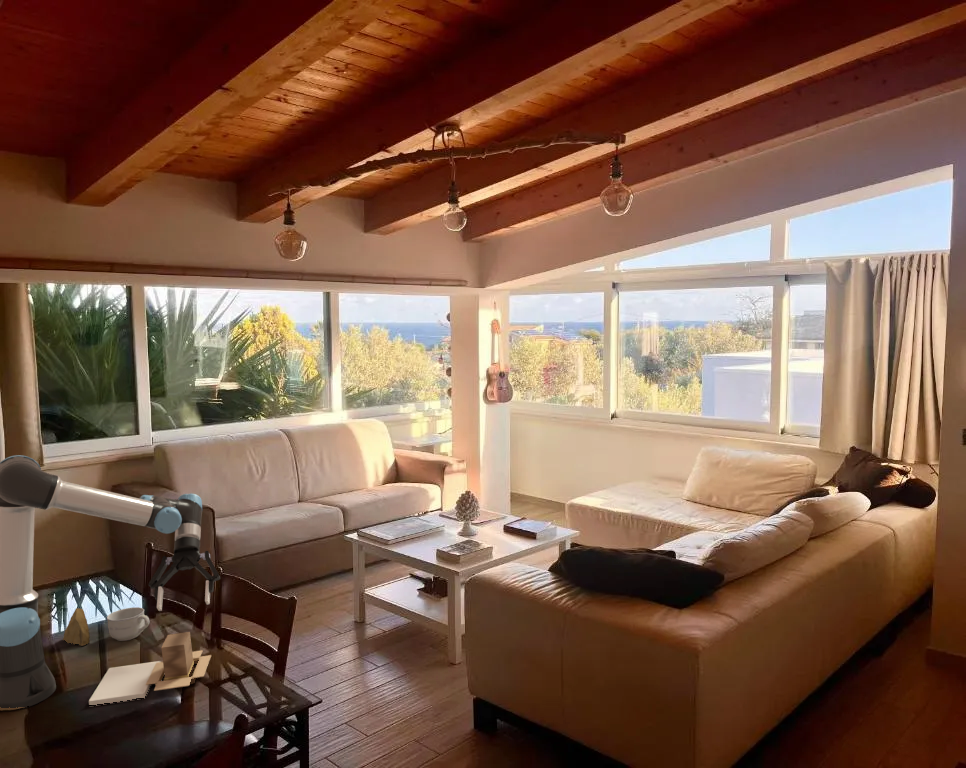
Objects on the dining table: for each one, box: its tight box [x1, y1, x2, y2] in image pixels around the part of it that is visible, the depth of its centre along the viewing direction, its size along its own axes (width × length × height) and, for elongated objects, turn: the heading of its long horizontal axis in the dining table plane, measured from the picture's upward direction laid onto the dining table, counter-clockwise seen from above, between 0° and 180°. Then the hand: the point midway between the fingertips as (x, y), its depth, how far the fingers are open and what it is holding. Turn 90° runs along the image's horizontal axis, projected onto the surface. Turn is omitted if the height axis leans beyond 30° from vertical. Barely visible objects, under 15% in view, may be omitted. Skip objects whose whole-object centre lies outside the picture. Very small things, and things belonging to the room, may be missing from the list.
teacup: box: [106, 607, 151, 642], centre depth 238 cm, size 14×11×8 cm
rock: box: [62, 607, 91, 646], centre depth 237 cm, size 11×9×10 cm
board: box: [88, 660, 161, 706], centre depth 208 cm, size 14×18×2 cm
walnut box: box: [161, 631, 194, 681], centre depth 211 cm, size 6×8×11 cm
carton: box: [146, 650, 212, 691], centre depth 212 cm, size 15×20×2 cm
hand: (183, 606), depth 221 cm, fingers open, 13 cm apart
